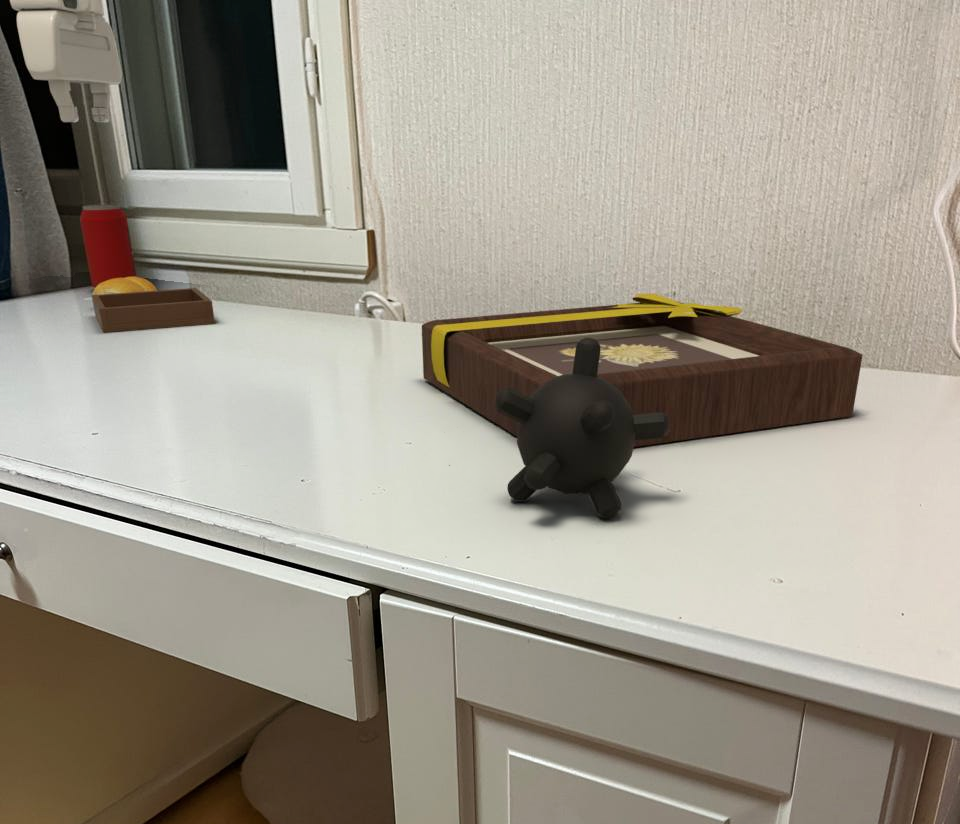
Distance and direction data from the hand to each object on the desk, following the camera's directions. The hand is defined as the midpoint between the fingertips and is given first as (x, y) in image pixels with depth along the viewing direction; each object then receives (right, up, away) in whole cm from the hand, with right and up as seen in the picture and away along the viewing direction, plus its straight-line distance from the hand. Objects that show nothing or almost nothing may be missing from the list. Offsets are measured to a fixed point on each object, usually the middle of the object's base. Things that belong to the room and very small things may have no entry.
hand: (86, 122), depth 131 cm
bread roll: (+3, -22, +8) cm, 24 cm away
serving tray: (+10, -27, -3) cm, 29 cm away
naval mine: (+59, -60, -66) cm, 107 cm away
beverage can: (-5, -15, +23) cm, 27 cm away
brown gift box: (+66, -47, -42) cm, 91 cm away
